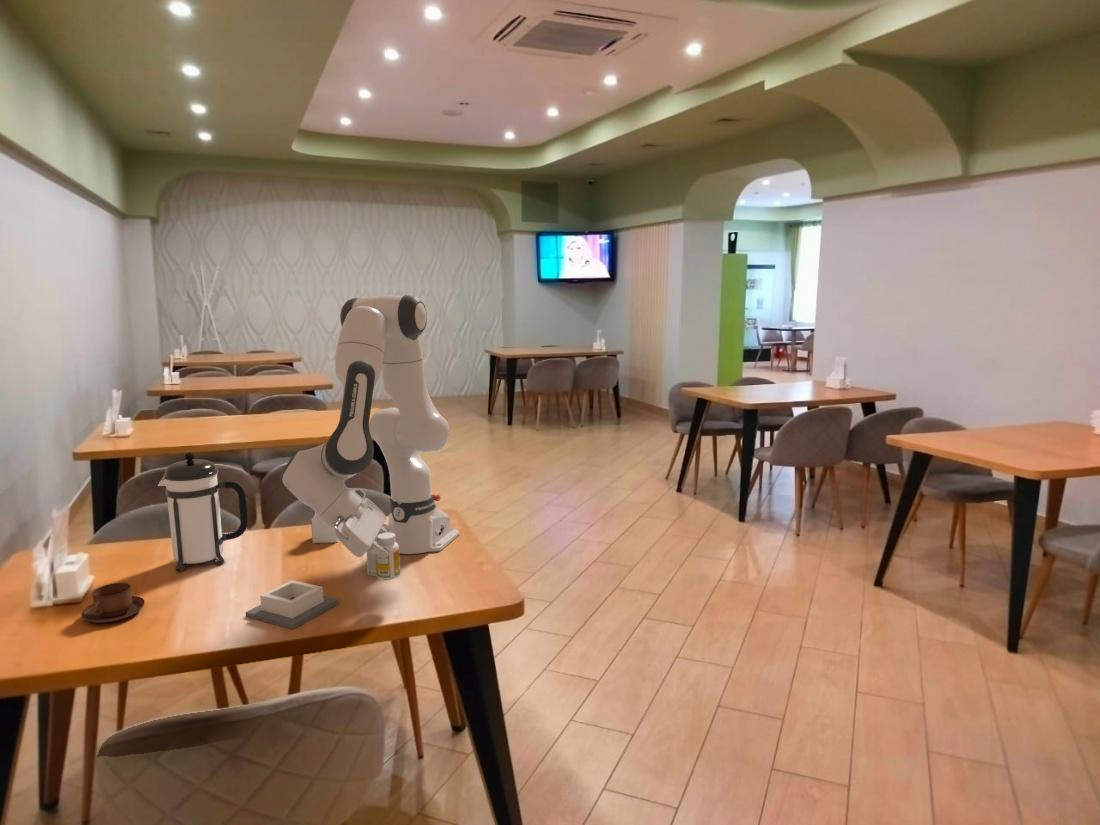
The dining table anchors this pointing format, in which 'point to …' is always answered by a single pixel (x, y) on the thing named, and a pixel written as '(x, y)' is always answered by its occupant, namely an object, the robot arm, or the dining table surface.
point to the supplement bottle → (388, 558)
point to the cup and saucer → (112, 603)
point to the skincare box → (371, 557)
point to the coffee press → (198, 511)
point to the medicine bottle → (322, 531)
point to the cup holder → (291, 604)
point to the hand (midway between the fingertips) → (389, 550)
